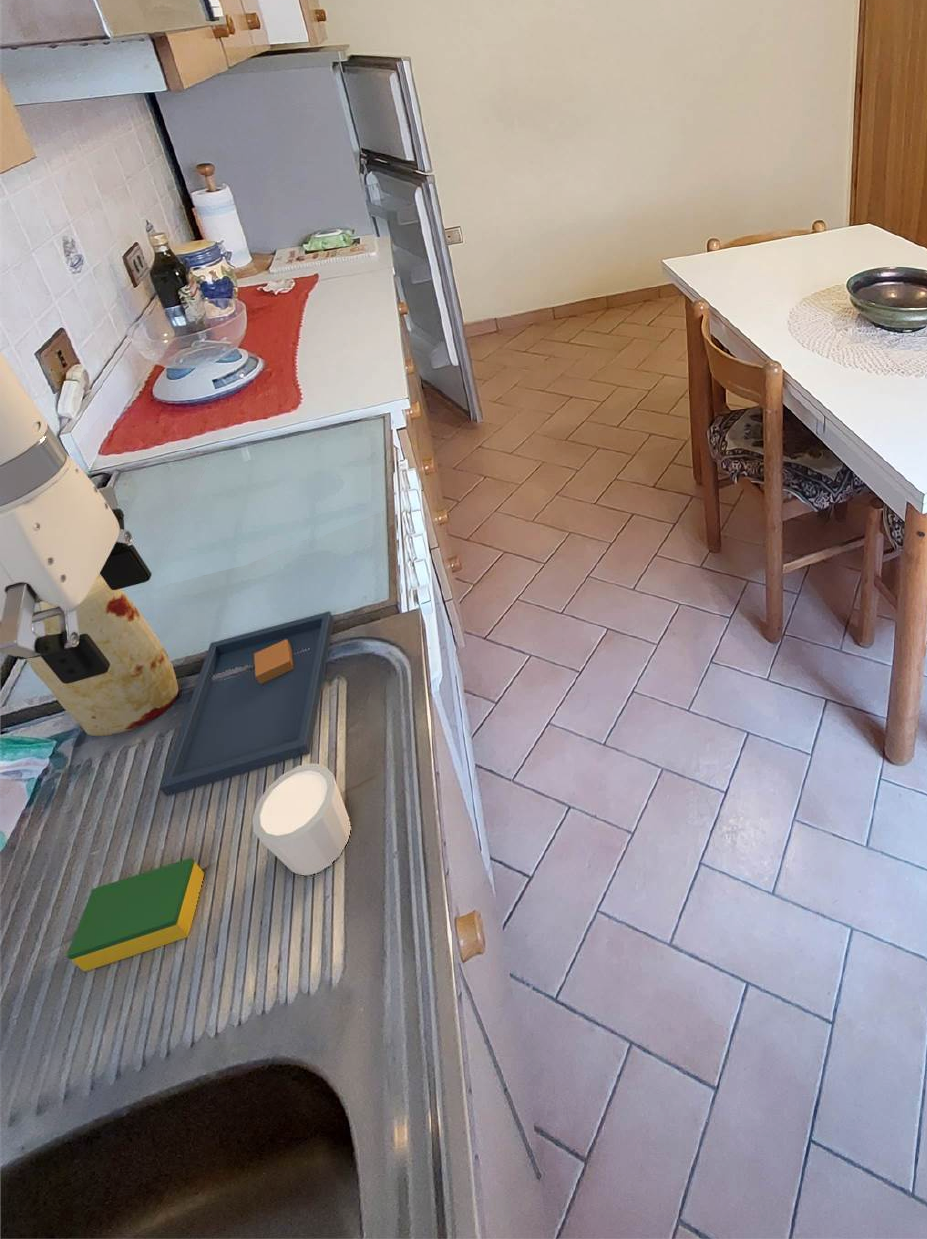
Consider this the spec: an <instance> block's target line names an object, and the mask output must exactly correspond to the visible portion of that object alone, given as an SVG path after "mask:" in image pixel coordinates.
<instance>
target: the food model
mask: <svg viewBox="0 0 927 1239" xmlns="http://www.w3.org/2000/svg"><path fill="white" fill-rule="evenodd" d="M40 606H41V611H44V610H48V609H51V608H55V607H59V605H58V606H55V607H54V606H52V605H50V604H48V603H46V602H44V601H43V602H40ZM76 609H77V618H78V627H79V635H81V634H86V633H87V634H88V635H89V636H90V637H91V638H92V640H93V641H94V642H95V644H96V645H97V646H98V648H99V649H100V650H101V652H102V653H103V654H104V656H105V657H106V658H107V660H108V661H109V663H110V667H109V669H108V671H107V672H106V673H104V674H101V675H97V676H94V677H90V678H87V679H83V680H80V681H76V682H73V683H69V684H65V683H62V682H61V681H60V679H59V678H58V677H57V676H56V674H55V673H54V672H53V671H52V670H51V668H50V667H49V666H48V665H47V663H46V662H45V661H44V660H43V659H42V657H41V656H40V657H37V658H28V659H25V660H26V661H27V663H28V665H29V666H30V668H31V669H32V670H33V672H34V673H35V674H36V676H37V677H38V678H39V679H40V680H41V681H42V683H44V685H45V686H46V687H47V688H48V689H49V690H50V692H51V693H52V695H53V697H55V699H56V701H58V703H59V704H60V705H61V707H62V708H63V709H64V710H65V711H66V712H67V713H68V714H69V715H70V716H71V717H72V718H73V719H74V720H75V721H76V722H77V723H78V724H79V725H80V726H81V728H82V729H83V731H84V732H85V733H86V734H87V735H89V736H92V737H100V736H101V737H103V736H104V737H105V736H110V735H116V734H120V733H124V732H128V731H131V730H134V729H136V728H138V727H141V726H143V725H145V724H147V723H148V722H151V721H152V720H155V719H157V718H159V717H160V716H162V714H164V713H165V712H166V711H168V710H169V709H170V708H171V707H172V706H173V705H174V704H175V701H176V700H177V697H178V694H179V685H178V680H177V676H176V672H175V669H174V666H173V663H172V662H171V659H170V658H169V655H168V654H167V652H166V650H165V648H164V646H163V644H162V643H161V641H160V639H159V638H158V636H157V635H156V633H155V631H154V630H153V629H152V627H151V626H150V624H149V623H148V622H147V620H146V619H145V618H144V616H143V615H142V614H141V612H140V610H139V609H138V607H137V606H136V605H135V603H133V602H132V600H130V598H129V597H128V596H127V595H126V593H125V592H124V591H123V589H118V590H111V589H110V587H109V586H108V584H107V583H106V582H105V580H104V579H103V577H102V576H101V574H100V573H99V575H98V577H97V579H96V580H95V582H94V584H93V586H92V587H91V589H90V591H89V593H88V594H87V596H86V597H85V599H84V600H83V601H82V603H81V604H80V605H79V606H78V607H77V608H76ZM44 622H45V632H46V635H53V634H60V633H61V631H60V622H59V615H57V616H54V617H50V618H46V619H44Z"/></svg>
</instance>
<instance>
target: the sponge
mask: <svg viewBox="0 0 927 1239" xmlns="http://www.w3.org/2000/svg"><path fill="white" fill-rule="evenodd" d="M204 874H205V872H204V871H203V870H202V868H200V866H199V865H198V864H197V862H196V861H195V860H194V858H193V857H189V858H186V859H183V860H179V861H176V862H173V863H170V864H166V865H164V866H161V867H158V868H154V869H151V870H148V871H144V872H141V873H139V874H136V875H131V876H129V877H126V878H122V879H120V880H116V881H113V882H110V883H107V884H104V885H100V886H98V887H95V888H92V890H91V892H90V894H89V897H88V899H87V902H86V905H85V907H84V910H83V913H82V915H81V917H80V920H79V923H78V925H77V927H76V930H75V933H74V936H73V938H72V941H71V944H70V946H69V949H68V952H67V954H66V957H67V959H69V960H71V961H72V962H73V963H74V964H75V965H76V966H77V967H78V968H79V969H80V970H82V971H83V973H84V972H85V973H86V972H89V971H91V970H94V969H97V968H101V967H103V966H107V965H110V964H113V963H115V962H119V961H122V960H124V959H128V958H130V957H133V956H137V955H139V954H142V953H145V952H148V951H151V950H154V949H157V948H160V947H163V946H166V945H169V944H172V943H175V942H178V941H181V940H184V939H186V938H188V937H189V934H190V931H191V928H192V924H193V921H194V916H195V913H196V909H197V906H196V905H198V902H197V901H199V898H200V894H199V892H200V893H201V891H200V890H202V887H201V885H202V886H203V883H202V881H203V882H204V880H203V876H204ZM204 877H205V876H204ZM198 897H199V898H198Z"/></svg>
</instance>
